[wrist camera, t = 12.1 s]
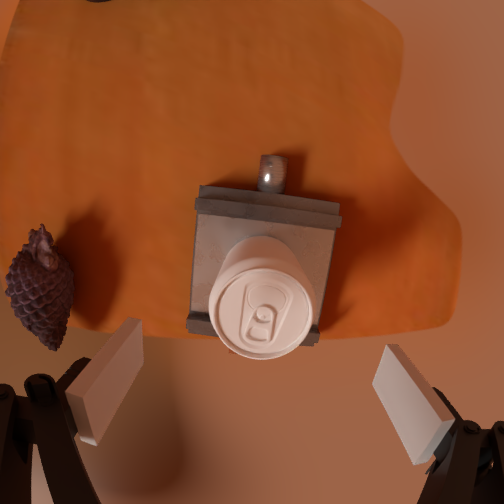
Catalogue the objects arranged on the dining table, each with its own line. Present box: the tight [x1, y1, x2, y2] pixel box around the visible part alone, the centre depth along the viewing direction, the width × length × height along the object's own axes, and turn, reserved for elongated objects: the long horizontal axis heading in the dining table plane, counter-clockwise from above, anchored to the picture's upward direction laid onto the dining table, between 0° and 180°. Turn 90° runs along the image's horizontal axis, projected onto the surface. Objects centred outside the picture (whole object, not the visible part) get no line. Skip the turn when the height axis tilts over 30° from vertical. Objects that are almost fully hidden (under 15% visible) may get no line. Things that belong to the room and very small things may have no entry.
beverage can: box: [209, 236, 316, 360], centre depth 27 cm, size 8×8×12 cm
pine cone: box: [5, 224, 75, 351], centre depth 32 cm, size 18×10×10 cm, turn 177°
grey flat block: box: [186, 155, 342, 354], centre depth 33 cm, size 23×15×4 cm, turn 173°
